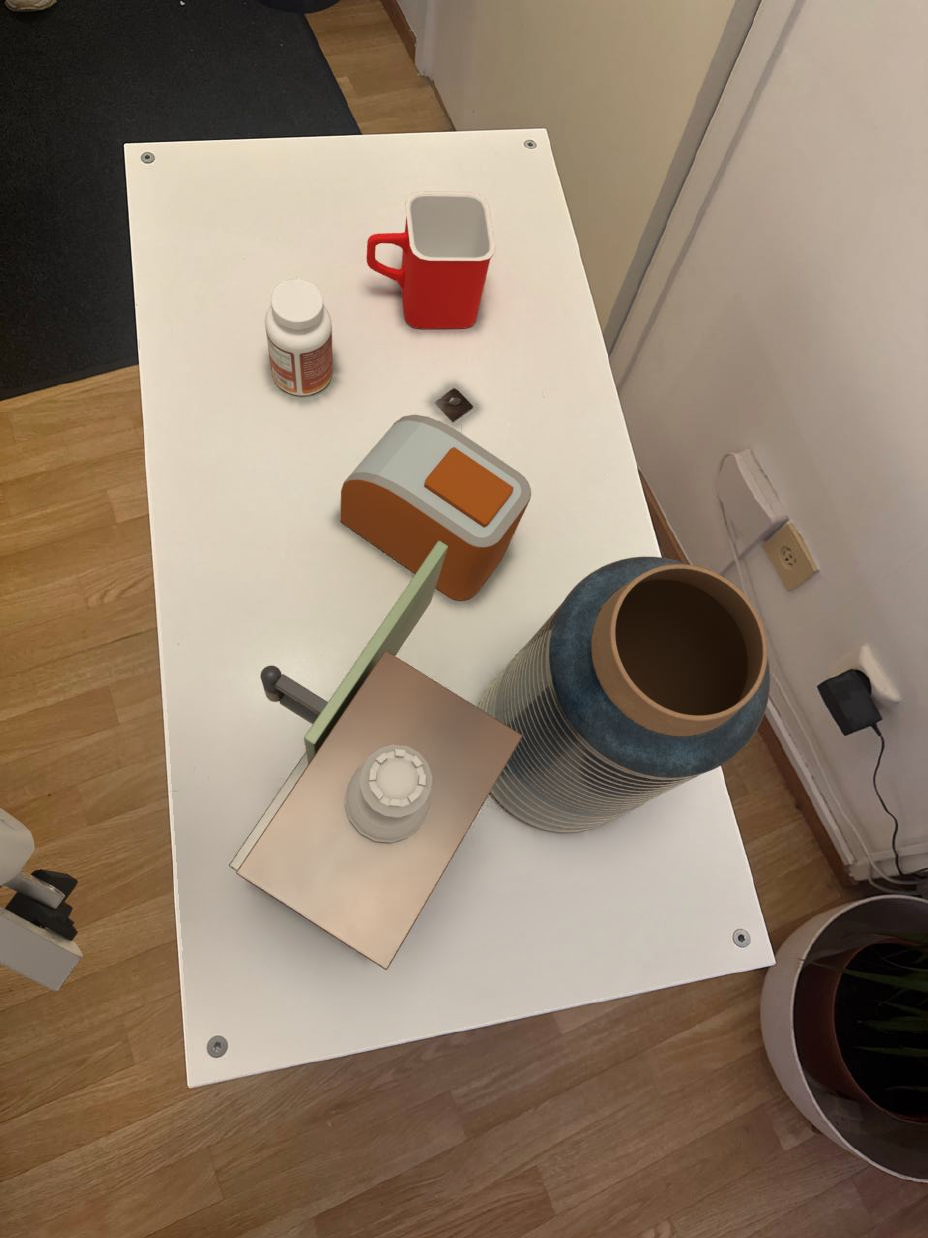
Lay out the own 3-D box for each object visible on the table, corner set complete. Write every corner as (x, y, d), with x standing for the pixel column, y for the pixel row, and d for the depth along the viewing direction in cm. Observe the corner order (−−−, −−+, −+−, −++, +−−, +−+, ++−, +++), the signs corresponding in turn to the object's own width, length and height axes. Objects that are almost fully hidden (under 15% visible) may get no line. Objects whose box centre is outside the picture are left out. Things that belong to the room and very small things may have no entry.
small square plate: (453, 422, 90) (453, 416, 89) (434, 402, 91) (434, 396, 89) (473, 406, 91) (474, 400, 90) (454, 386, 91) (455, 380, 90)
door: (247, 729, 57) (230, 692, 47) (366, 561, 61) (372, 498, 52) (317, 773, 56) (314, 745, 47) (431, 602, 61) (448, 545, 52)
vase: (664, 814, 80) (860, 752, 50) (491, 850, 77) (591, 806, 47) (619, 644, 85) (774, 497, 55) (454, 671, 82) (524, 530, 52)
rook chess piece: (439, 771, 47) (459, 744, 40) (415, 854, 46) (431, 841, 38) (359, 747, 47) (364, 715, 40) (333, 829, 46) (333, 812, 38)
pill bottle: (333, 347, 91) (333, 273, 80) (331, 399, 89) (331, 330, 79) (271, 344, 90) (263, 268, 80) (269, 396, 88) (260, 325, 78)
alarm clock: (513, 544, 87) (544, 479, 74) (465, 609, 84) (489, 553, 71) (391, 460, 88) (400, 382, 75) (339, 521, 85) (340, 451, 72)
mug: (471, 267, 97) (487, 191, 87) (480, 330, 94) (497, 260, 84) (361, 266, 95) (364, 189, 85) (367, 331, 92) (371, 260, 82)
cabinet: (255, 880, 73) (205, 854, 44) (348, 739, 78) (358, 632, 49) (365, 950, 73) (386, 970, 44) (452, 804, 78) (523, 735, 49)
